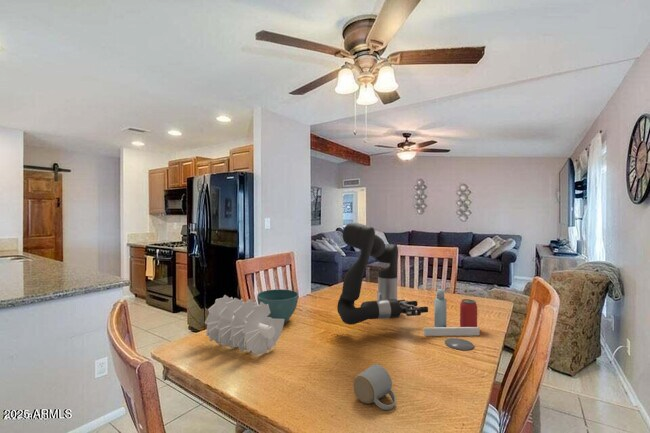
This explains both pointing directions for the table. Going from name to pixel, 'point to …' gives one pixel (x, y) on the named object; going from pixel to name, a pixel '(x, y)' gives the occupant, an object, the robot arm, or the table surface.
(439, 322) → the grey bottle
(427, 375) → the table surface
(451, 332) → the wall
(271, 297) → the dark green bowl
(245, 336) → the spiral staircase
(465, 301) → the beer can
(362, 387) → the ceramic mug
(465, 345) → the coaster
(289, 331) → the table surface
